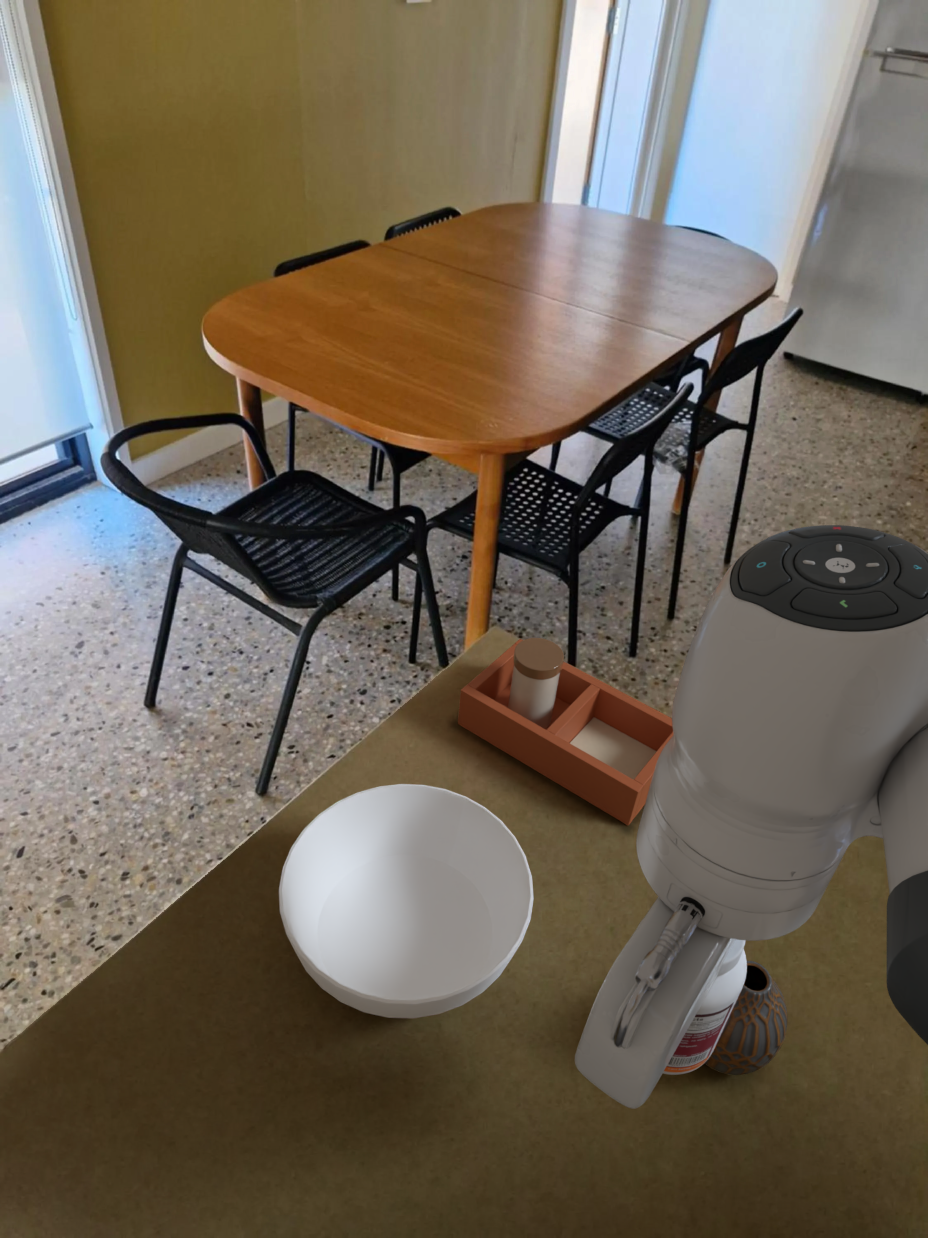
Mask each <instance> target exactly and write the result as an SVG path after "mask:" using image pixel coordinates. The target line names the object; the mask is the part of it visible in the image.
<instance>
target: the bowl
mask: <svg viewBox="0 0 928 1238" xmlns="http://www.w3.org/2000/svg"><path fill="white" fill-rule="evenodd" d="M280 874H281V875H280V880H279V885H278V886H279V887H278V903H279V914H280V918H281V921H282V925H283V929H284V932H285V936H286V937H287V939H288V941H289V943H290V945H291V947H292V948H293V950H294V952H295V955H296V956H297V958H298V959H299V961H300V963H301V965H302V967H303V968H304V970H305V972H306V973H307V974H308V975H309V976H310V977H311V979H313V981H314V982H315V983H316V984H317V985H318V986H319V988H320V989H322V990H323V991H325V993H328V994H329V995H330V996H331V997H333V998H335V999H336V1000H337V1001H338V1002H340V1003H342V1004H344V1005H347V1006H348V1007H351V1008H353V1009H356V1010H358V1011H359V1012H362V1013H364V1014H370V1015H375V1016H379V1017H383V1018H388V1019H418V1018H424V1017H429V1016H430V1017H431V1016H436V1015H440V1014H443V1013H446V1012H449V1011H451V1010H454V1009H456V1008H459V1007H461V1006H464V1005H465V1004H467V1003H468V1002H470V1001H472V1000H473V999H475V998H476V997H479V996H480V995H481V994H483V993H484V992H485V991H486V990H488V988H489V987H490V986H491V985H492V984H494V983H495V981H496V980H498V979H499V977H500V976H501V975H502V973H503V972H504V971H505V969H506V967H507V966H508V965H509V964H510V962H511V961H512V959H513V957H514V955H515V954H516V953H517V951H518V949H519V948H520V946H521V944H522V942H523V940H524V938H525V935H526V933H527V930H528V927H529V925H530V922H531V919H532V912H533V905H534V899H535V897H534V886H533V884H534V883H533V875H532V872H531V870H530V866H529V862H528V858H527V856H526V854H525V852H524V850H523V849H522V846H521V845H520V843H519V841H518V839H517V837H516V836H515V835H514V834H513V833H512V831H511V830H510V829H509V827H508V826H507V825H506V824H505V823H504V822H503V820H501V819H500V818H499V817H498V816H497V815H496V814H494V813H493V812H491V811H490V810H489V809H488V808H487V807H485V806H484V805H482V804H480V803H478V802H477V801H475V800H473V799H471V798H469V797H468V796H465V795H463V794H460V793H458V792H454V791H452V790H449V789H446V788H444V787H443V788H442V787H437V786H432V785H426V784H417V783H416V784H412V783H398V784H389V785H381V786H376V787H372V788H368V789H364V790H361V791H357V792H356V793H353V794H351V795H348V796H346V797H344V798H342V799H340V800H338V801H336V802H335V803H333V804H332V805H330V806H328V807H327V808H326V809H324V810H323V811H321V812H320V813H319V814H317V816H315V817H314V818H313V820H311V821H310V822H309V823H308V824H307V825H306V826H305V827H304V828H303V829H302V831H301V832H300V834H299V835H298V837H297V838H296V840H295V841H294V842H293V844H292V845H291V846H290V849H289V852H288V854H287V856H286V859H285V861H284V864H283V866H282V870H281V873H280Z"/></svg>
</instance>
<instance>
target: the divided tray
mask: <svg viewBox="0 0 928 1238" xmlns="http://www.w3.org/2000/svg"><path fill="white" fill-rule="evenodd" d="M523 640H524V639H522V638H519V639H517V641H515V642H514V643H513V644H512V645H511V646H510V647H508V649H506V650H505V651H504V652H503V653H502V654H501V655H499V656H498V657H497V658H496V659H495V660H494V661H493V662H491V663H490V664H489V665H488V666H487V667H486V668H484V669H483V670H482V671H481V672H480V673H478V675H476V676H475V677H473V679H471V681H469V682H468V683H467V684H466V685H465V686H463V687H462V688H460V693H459V705H458V716H457V725H459V726H461V727H462V728H464V729H465V730H467V731H469V732H470V733H472V734H474V735H475V736H477V737H479V738H481V739H482V740H484V741H486V742H487V743H489V744H491V745H492V746H494V747H495V748H497V749H499V750H500V751H502V752H504V753H505V754H507V755H509V756H511V757H512V758H514V759H516V760H517V761H519V762H521V763H522V764H524V765H526V766H527V767H529V768H530V769H532V770H534V771H536V772H538V773H539V774H541V775H543V776H544V777H546V778H547V779H549V780H551V781H552V782H554V783H556V784H558V785H559V786H561V787H563V788H564V789H566V790H567V791H569V792H570V793H572V794H574V795H576V796H577V797H579V798H581V799H583V800H584V801H586V802H588V803H589V804H591V805H592V806H594V807H595V808H598V809H600V810H601V811H603V812H604V813H606V814H608V815H609V816H611V817H613V818H615V819H616V820H617V821H619V822H621V823H622V824H624V825H626V826H630V825H631V823H632V822H633V821H634V820H635V818H636V817H637V816H638V814H639V813H640V811H641V810H642V809H644V807H645V803H646V799H647V795H648V791H649V788H650V784H651V780H652V777H653V774H654V770H655V766H656V763H657V760H658V758H659V756H660V754H661V752H662V750H663V748H664V747H665V745H666V744H667V743H668V741H669V740H670V739H671V737H672V736H673V734H674V733H673V726H672V717H670V716H668V715H667V714H664V713H663V712H660V711H659V710H657V709H655V708H653V707H651V706H649V705H648V704H645V703H644V702H642V701H640V700H638V699H636V698H634V697H633V696H630V695H629V694H626V693H625V692H623V691H621V690H619V689H617V688H616V687H614V686H611V685H610V684H607V683H605V682H603V681H601V680H600V679H599V678H597V677H594V676H593V675H591V674H588V673H587V672H586V671H582V669H581V670H580V669H579V668H577V667H575V666H574V665H571V664H569V663H568V662H565V660H563V666H562V670H561V671H560V676H559V682H558V687H557V692H556V698H555V703H554V709H553V714H552V719H551V723H550V724H549V726H548V727H547V728H545V729H544V728H542V727H540V726H538V725H537V724H535V723H533V722H531V721H530V720H528V719H526V718H524V717H523V716H521V715H519V714H517V713H516V712H514V711H512V710H510V709H509V708H508V702H509V695H510V687H511V680H512V673H513V666H514V663H513V658H514V651H515V648H516V646H517V645H518V644H519V643H520V642H521V641H523Z"/></svg>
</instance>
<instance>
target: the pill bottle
mask: <svg viewBox="0 0 928 1238" xmlns="http://www.w3.org/2000/svg"><path fill="white" fill-rule="evenodd" d="M643 919H644V917H643V918H642V920H643ZM640 923H641V921H640V922H639V924H640ZM639 924H638V926H639ZM638 926H637V927H638ZM746 942H747V940H737V939H736V941H735V942H734V944H733V946H732V948H731V949H730V951H729V953H728V955H727V956H726V958H725V960H724V962H723V964H722V966H721V968H720V971H719V973H718V976H717V978H716V980H715V982H714V984H713V985H712V987H711V989H710V991H709V993H708V994H707V996H706V998H705V1000H704V1001H703V1003H702V1005H701V1007H700V1008H699V1010H698V1012H697V1014H696V1015H695V1017H694V1019H693V1021H692V1022H691V1024H690V1026H689V1028H688V1029H687V1031H686V1033H685V1035H684V1036H683V1038H682V1040H681V1042H680V1043H679V1045H678V1047H677V1049H676V1051H675V1052H674V1054H673V1056H672V1058H671V1059H670V1061H669V1063H668V1065H667V1066H666V1068H665V1070H664V1072H663V1073H662V1074H664V1075H671V1076H674V1075H676V1076H677V1075H684V1074H688V1073H691V1072H694V1071H695V1070H697V1069H699V1068H700V1067H702V1066H703V1065H705V1062H706V1061H707V1060H708V1058H709V1057H710V1056H711V1054H712V1052H713V1051H714V1049H715V1047H716V1045H717V1043H718V1041H719V1039H720V1036H721V1034H722V1032H723V1030H724V1028H725V1025H726V1023H727V1021H728V1019H729V1017H730V1015H731V1012H732V1010H733V1008H734V1006H735V1004H736V1002H737V1000H738V997H739V995H740V993H741V991H742V988H743V985H744V982H745V979H746V973H747V961H748V960H747V955H746V952H745V946H746Z"/></svg>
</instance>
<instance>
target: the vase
mask: <svg viewBox="0 0 928 1238" xmlns="http://www.w3.org/2000/svg"><path fill="white" fill-rule="evenodd" d="M746 961H747V973H746V979H745V982H744V985H743V988H742V991H741V993H740V995H739V997H738V1000H737V1002H736V1004H735V1006H734V1008H733V1010H732V1012H731V1015H730V1017H729V1019H728V1021H727V1023H726V1025H725V1028H724V1030H723V1032H722V1034H721V1036H720V1039H719V1041H718V1043H717V1045H716V1047H715V1049H714V1051H713V1052H712V1054H711V1056H710V1057H709V1058H708V1060H707V1061H706V1062H705V1063H704V1065H706V1066H707V1067H709V1068H711V1069H712V1070H714V1071H716V1072H719V1073H722V1074H726V1075H729V1076H745V1075H748V1074H751V1073H755V1072H757V1071H759V1070H761V1069H762V1068H764V1067H765V1066H767V1065H769V1063H771V1062H772V1060H773V1059H774V1058H775V1057H776V1056H777V1055H778V1053H779V1051H780V1050H781V1047H782V1046H783V1044H784V1041H785V1039H786V1035H787V1030H788V1008H787V1004H786V1000H785V997H784V995H783V992H782V990H781V988H780V987H779V985H778V984H777V982H776V981H775V979H774V978H773V977H772V976H771V974H770V973H769V971H768V970H767V968H766V967H765V966H764V965H762V964H761V963H758V962H756V961H754V960H746Z"/></svg>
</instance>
